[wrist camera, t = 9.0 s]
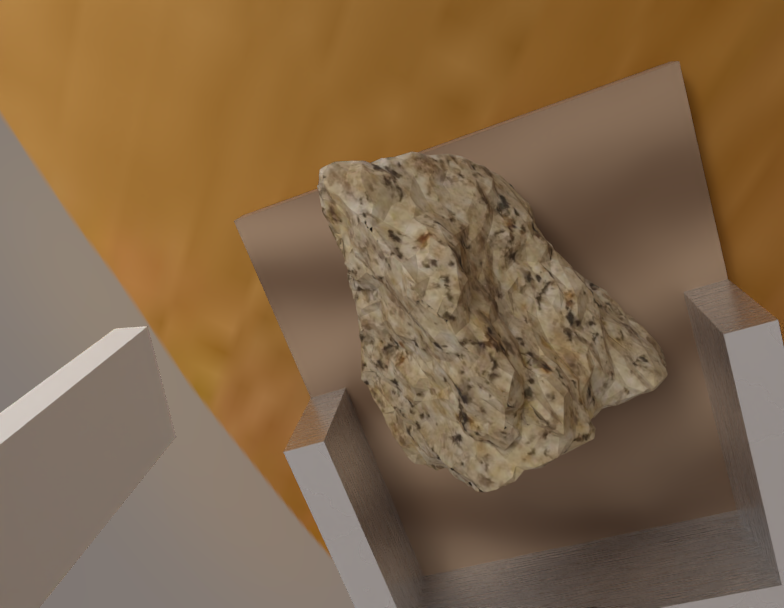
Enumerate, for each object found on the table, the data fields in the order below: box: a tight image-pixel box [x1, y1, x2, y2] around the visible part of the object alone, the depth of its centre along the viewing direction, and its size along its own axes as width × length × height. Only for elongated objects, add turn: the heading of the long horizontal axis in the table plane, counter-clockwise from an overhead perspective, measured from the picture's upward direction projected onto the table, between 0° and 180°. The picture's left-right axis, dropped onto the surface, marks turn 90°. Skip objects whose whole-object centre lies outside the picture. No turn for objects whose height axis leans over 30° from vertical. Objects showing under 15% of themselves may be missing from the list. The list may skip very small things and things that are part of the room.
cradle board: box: [234, 61, 737, 576], centre depth 30 cm, size 22×19×1 cm
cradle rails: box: [284, 279, 784, 608], centre depth 29 cm, size 14×19×5 cm
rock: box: [317, 152, 668, 493], centre depth 25 cm, size 11×12×10 cm
